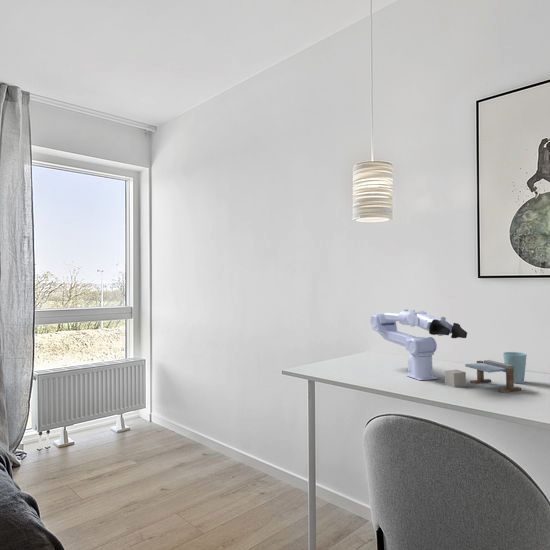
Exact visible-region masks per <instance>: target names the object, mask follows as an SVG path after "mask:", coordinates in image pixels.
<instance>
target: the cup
mask: <svg viewBox="0 0 550 550" xmlns="http://www.w3.org/2000/svg"><path fill="white" fill-rule="evenodd" d="M502 356H503V361H504V363H505V364H509V365H514V373H513V374H514V384H524V382H525V375H526V365H527V356H528V355H527V353H524V352H518V351H517V352H516V351H505V352H503V353H502Z"/></svg>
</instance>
